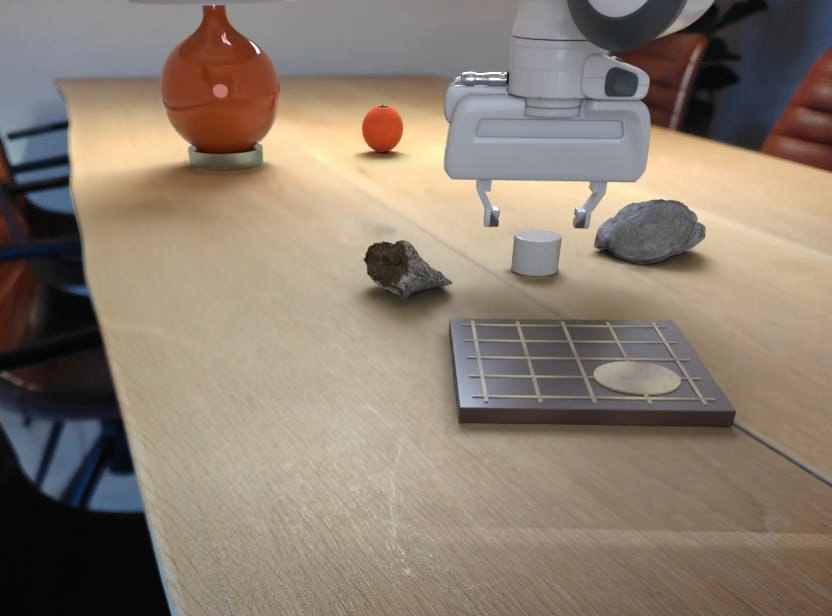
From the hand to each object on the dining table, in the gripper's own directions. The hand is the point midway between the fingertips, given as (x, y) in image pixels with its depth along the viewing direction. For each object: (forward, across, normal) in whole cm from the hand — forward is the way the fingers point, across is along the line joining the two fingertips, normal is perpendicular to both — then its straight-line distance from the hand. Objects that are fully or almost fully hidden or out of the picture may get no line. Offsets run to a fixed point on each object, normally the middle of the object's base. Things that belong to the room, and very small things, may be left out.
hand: (535, 226), depth 96 cm
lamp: (+5, -42, +59) cm, 73 cm away
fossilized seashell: (+4, +14, +7) cm, 17 cm away
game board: (+4, 0, -30) cm, 30 cm away
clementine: (+5, -17, +70) cm, 72 cm away
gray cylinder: (+4, 0, 0) cm, 4 cm away
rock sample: (+5, -14, -8) cm, 16 cm away
